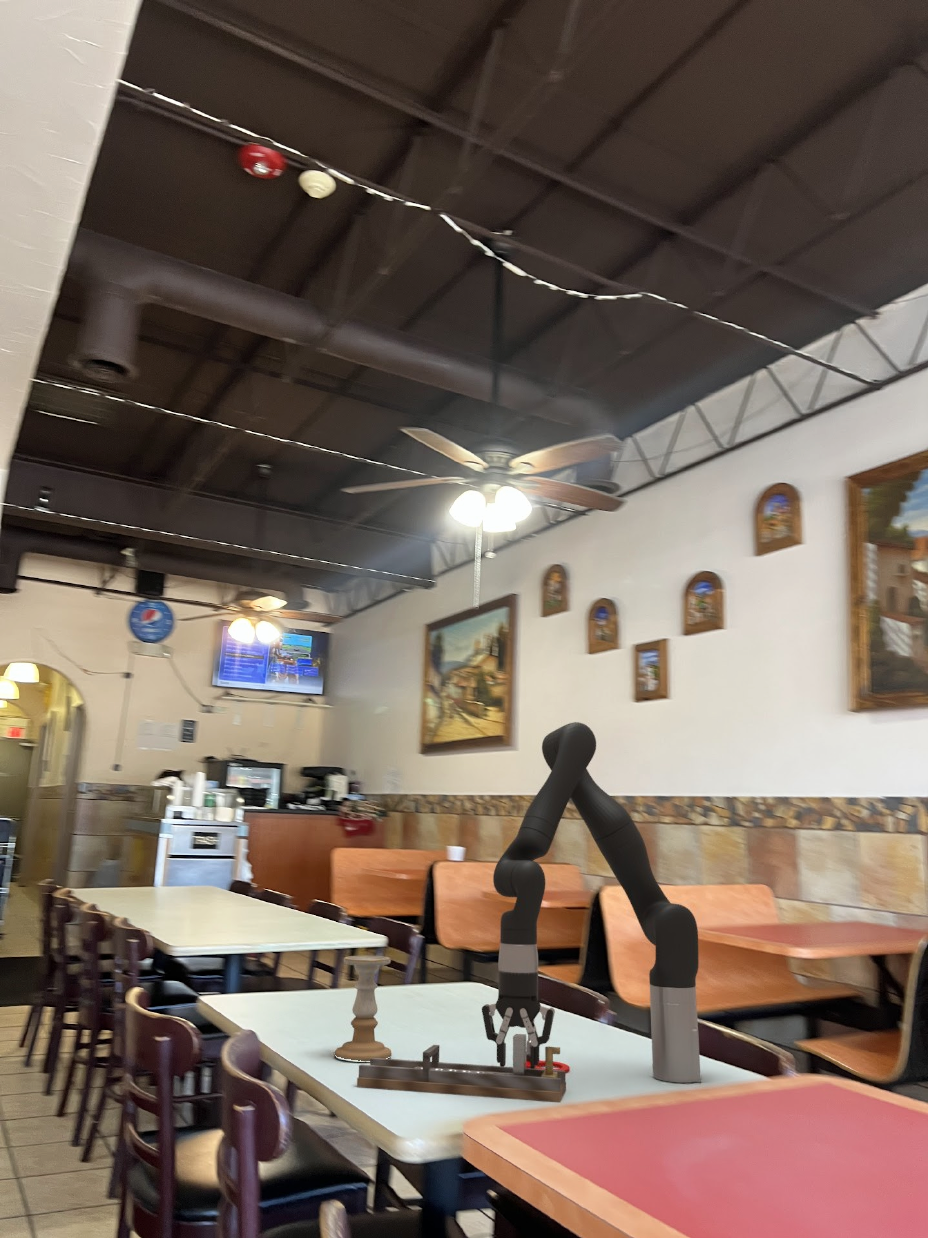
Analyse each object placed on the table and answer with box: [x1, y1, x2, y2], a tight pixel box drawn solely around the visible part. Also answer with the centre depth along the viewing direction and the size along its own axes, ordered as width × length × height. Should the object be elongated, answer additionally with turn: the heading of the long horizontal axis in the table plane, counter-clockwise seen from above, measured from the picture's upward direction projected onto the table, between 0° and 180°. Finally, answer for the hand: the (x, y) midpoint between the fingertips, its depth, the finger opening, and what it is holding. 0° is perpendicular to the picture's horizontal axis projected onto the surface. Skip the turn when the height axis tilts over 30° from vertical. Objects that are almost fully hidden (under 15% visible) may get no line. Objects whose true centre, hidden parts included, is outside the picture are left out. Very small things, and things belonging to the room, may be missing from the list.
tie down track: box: [356, 1044, 567, 1103], centre depth 167 cm, size 38×9×8 cm, turn 77°
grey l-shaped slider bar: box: [415, 1033, 527, 1076], centre depth 167 cm, size 21×3×8 cm, turn 77°
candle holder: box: [334, 955, 392, 1061], centre depth 195 cm, size 12×12×20 cm
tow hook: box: [526, 1019, 571, 1074], centre depth 185 cm, size 8×13×9 cm
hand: (517, 1066), depth 165 cm, fingers open, 5 cm apart
